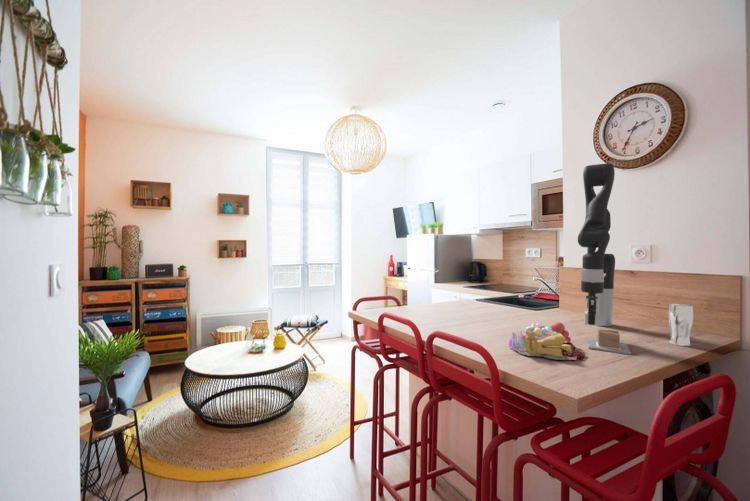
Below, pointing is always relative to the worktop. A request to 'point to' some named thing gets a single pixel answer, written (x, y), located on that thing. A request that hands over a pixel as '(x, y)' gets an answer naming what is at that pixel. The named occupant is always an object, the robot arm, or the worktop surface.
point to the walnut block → (608, 338)
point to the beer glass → (680, 323)
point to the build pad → (622, 347)
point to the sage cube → (587, 319)
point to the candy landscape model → (546, 342)
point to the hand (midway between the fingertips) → (591, 322)
